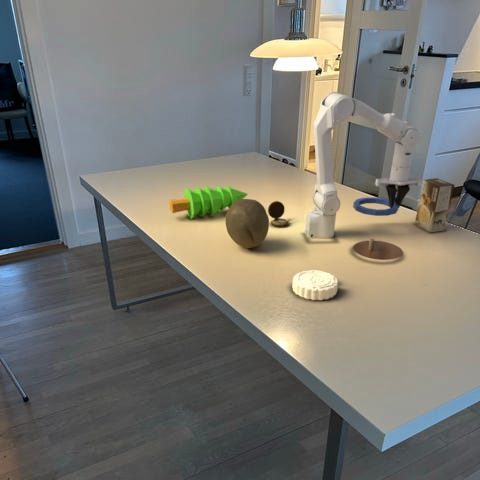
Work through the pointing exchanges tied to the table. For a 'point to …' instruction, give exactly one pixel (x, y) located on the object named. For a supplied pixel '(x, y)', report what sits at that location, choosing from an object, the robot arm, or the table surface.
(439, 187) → the coffee box
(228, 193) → the decorative tree
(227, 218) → the brown coconut
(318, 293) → the mooncake
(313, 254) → the table surface
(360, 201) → the ring
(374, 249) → the platform
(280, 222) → the compass
